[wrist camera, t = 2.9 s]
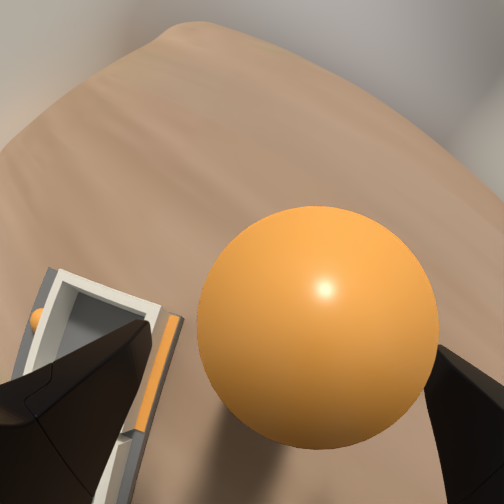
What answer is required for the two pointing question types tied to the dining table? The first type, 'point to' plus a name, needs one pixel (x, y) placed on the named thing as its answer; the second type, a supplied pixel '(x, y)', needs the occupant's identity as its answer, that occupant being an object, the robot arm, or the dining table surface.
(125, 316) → the grey compartment tray
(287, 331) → the plug
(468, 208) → the dining table surface
